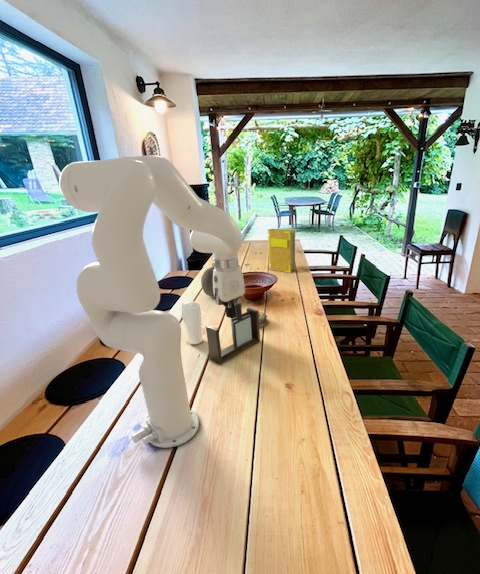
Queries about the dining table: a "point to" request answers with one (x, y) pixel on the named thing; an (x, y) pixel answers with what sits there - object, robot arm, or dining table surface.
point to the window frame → (229, 352)
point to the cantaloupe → (208, 282)
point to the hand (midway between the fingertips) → (231, 316)
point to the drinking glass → (192, 321)
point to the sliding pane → (241, 327)
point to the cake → (262, 319)
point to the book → (281, 250)
